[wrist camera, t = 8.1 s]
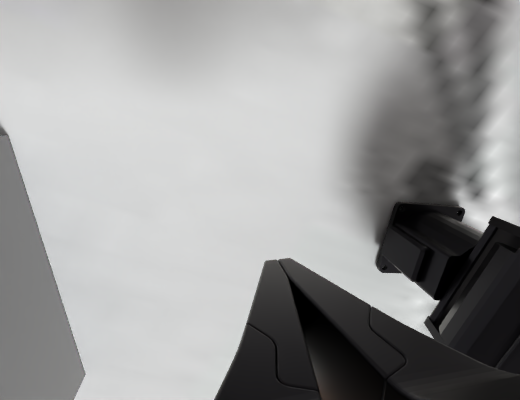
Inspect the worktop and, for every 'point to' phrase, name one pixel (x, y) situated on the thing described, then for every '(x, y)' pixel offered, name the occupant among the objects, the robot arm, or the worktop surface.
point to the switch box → (30, 303)
